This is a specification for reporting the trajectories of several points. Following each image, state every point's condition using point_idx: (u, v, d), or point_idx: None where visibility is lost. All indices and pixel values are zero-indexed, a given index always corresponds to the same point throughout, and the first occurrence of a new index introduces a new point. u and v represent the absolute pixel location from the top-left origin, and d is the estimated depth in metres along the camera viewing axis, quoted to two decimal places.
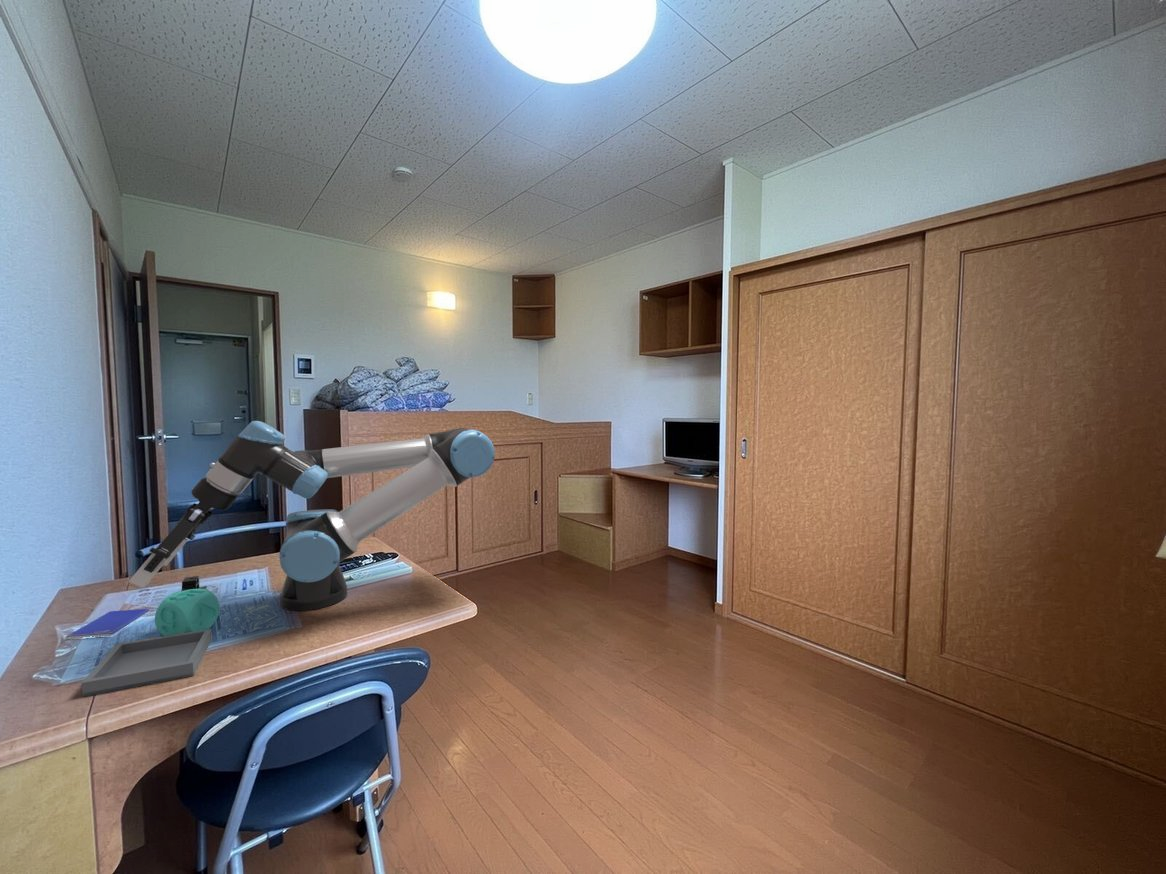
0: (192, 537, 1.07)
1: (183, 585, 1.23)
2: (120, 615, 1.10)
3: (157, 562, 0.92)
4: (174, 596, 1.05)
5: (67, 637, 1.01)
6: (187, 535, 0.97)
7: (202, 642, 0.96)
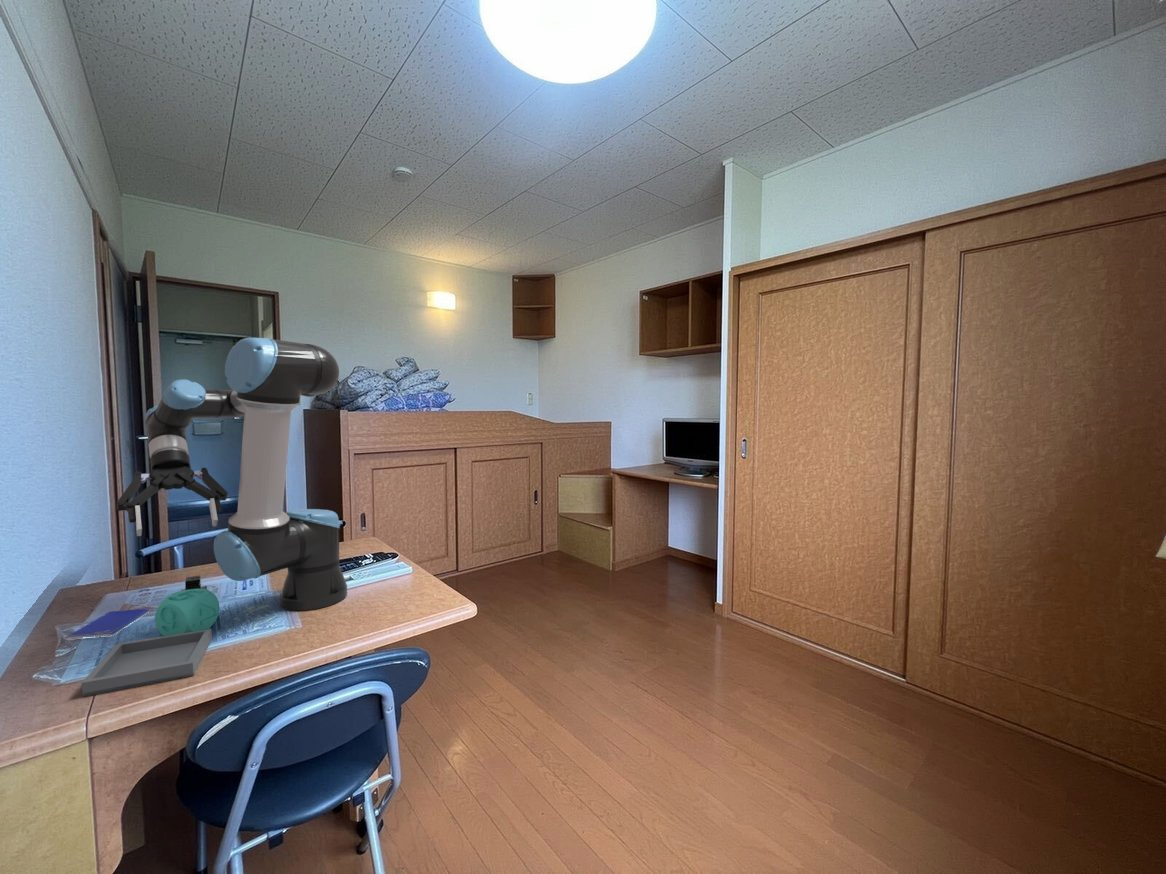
0: (216, 495, 1.20)
1: (187, 584, 1.24)
2: (120, 615, 1.10)
3: (128, 512, 1.08)
4: (174, 596, 1.05)
5: (67, 637, 1.01)
6: (152, 489, 1.13)
7: (202, 642, 0.96)
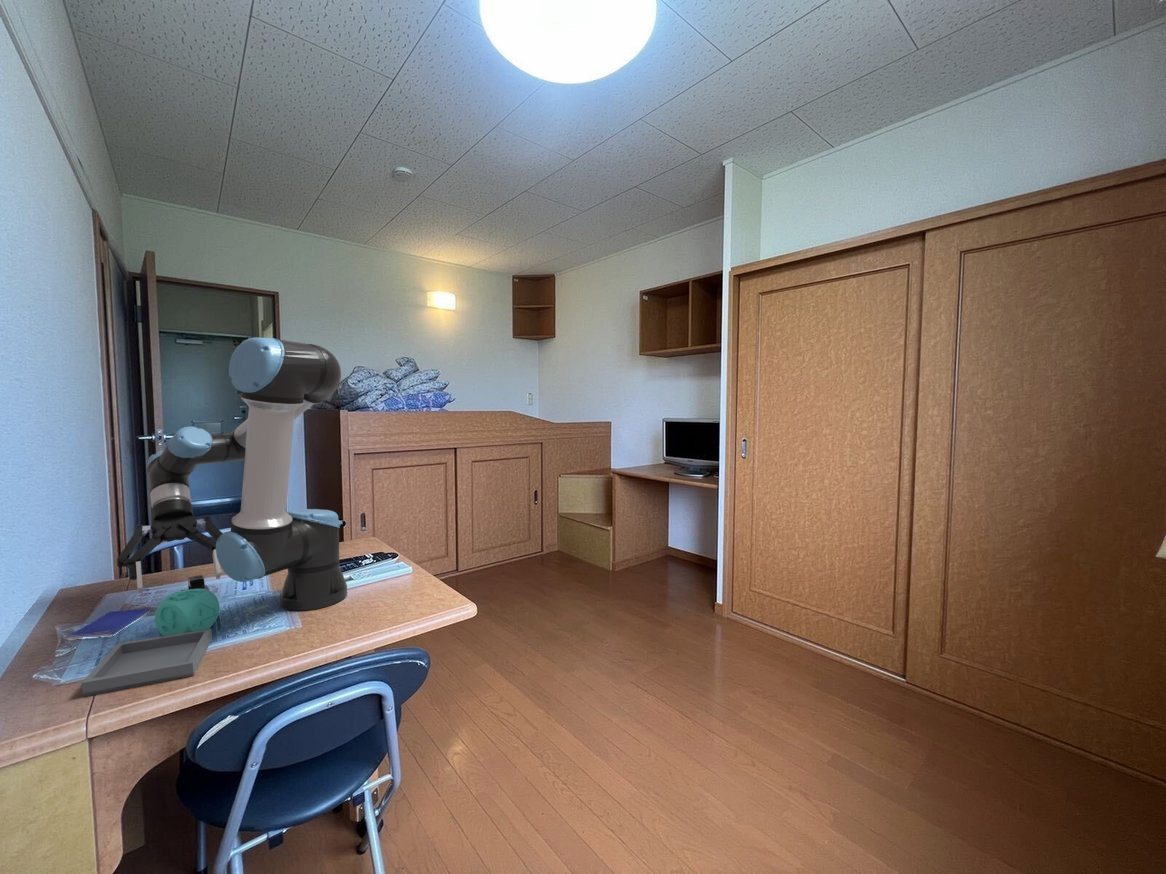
0: None
1: (192, 584, 1.24)
2: (120, 615, 1.10)
3: None
4: (174, 596, 1.05)
5: (67, 637, 1.00)
6: (153, 543, 1.09)
7: (202, 642, 0.96)
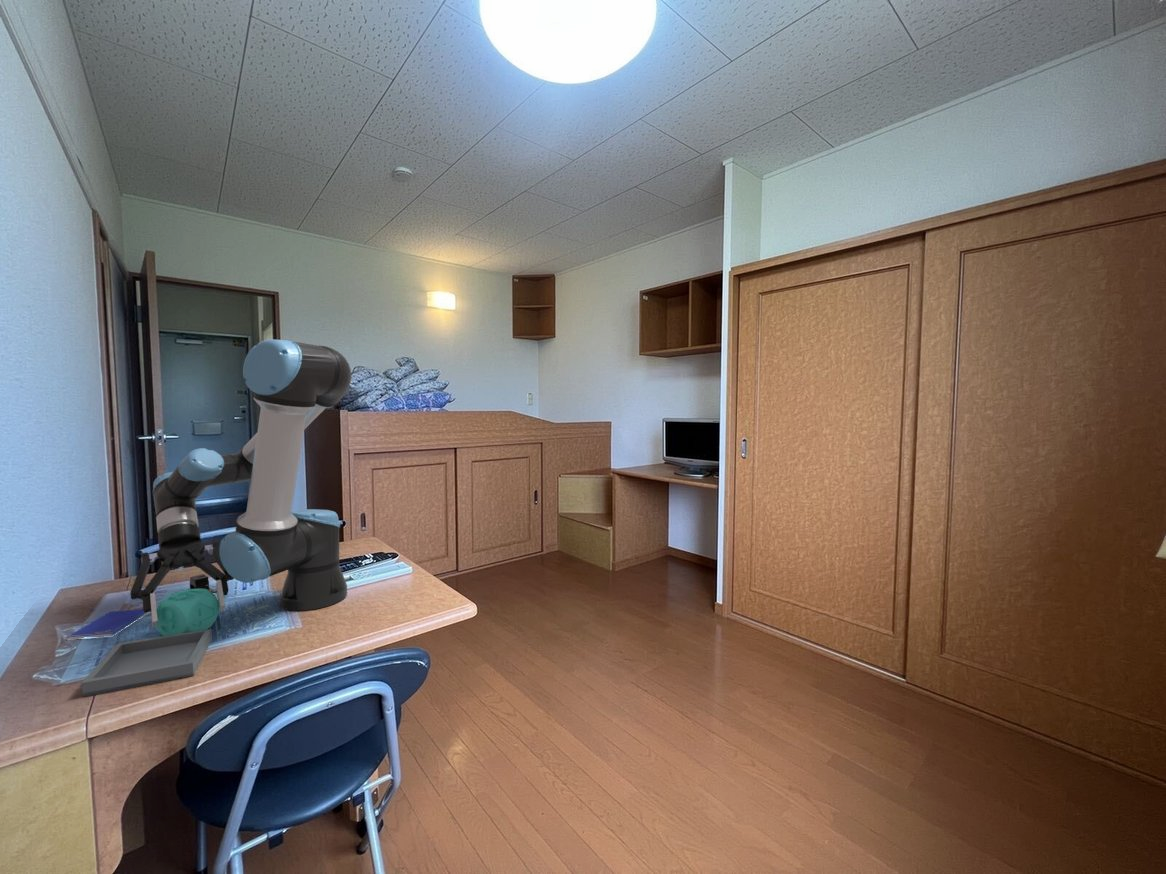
0: (223, 576, 1.11)
1: (196, 583, 1.25)
2: (120, 615, 1.10)
3: None
4: (173, 596, 1.04)
5: (67, 638, 1.00)
6: (164, 571, 1.06)
7: (202, 642, 0.96)
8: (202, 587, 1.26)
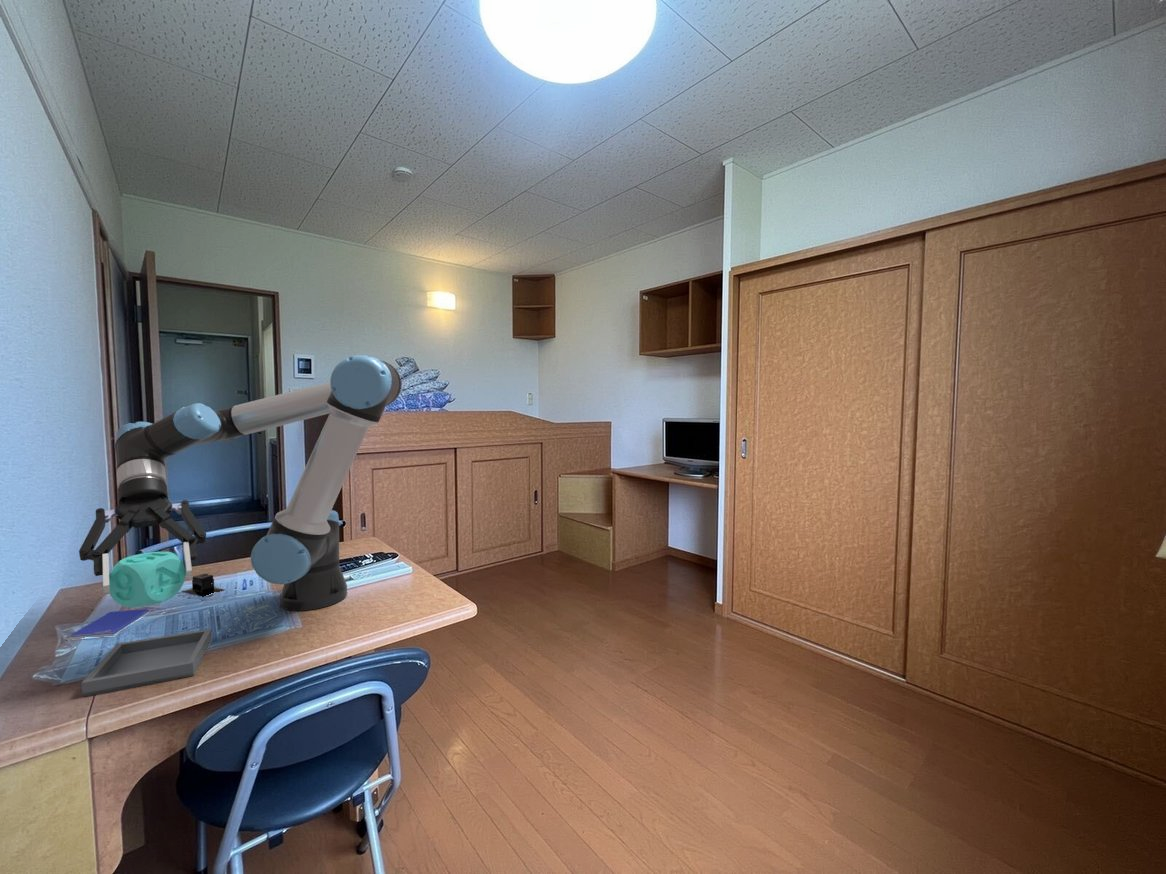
0: None
1: (203, 581, 1.26)
2: (120, 615, 1.10)
3: None
4: (131, 558, 0.90)
5: (68, 638, 1.00)
6: (121, 530, 0.91)
7: (202, 642, 0.96)
8: (208, 585, 1.27)
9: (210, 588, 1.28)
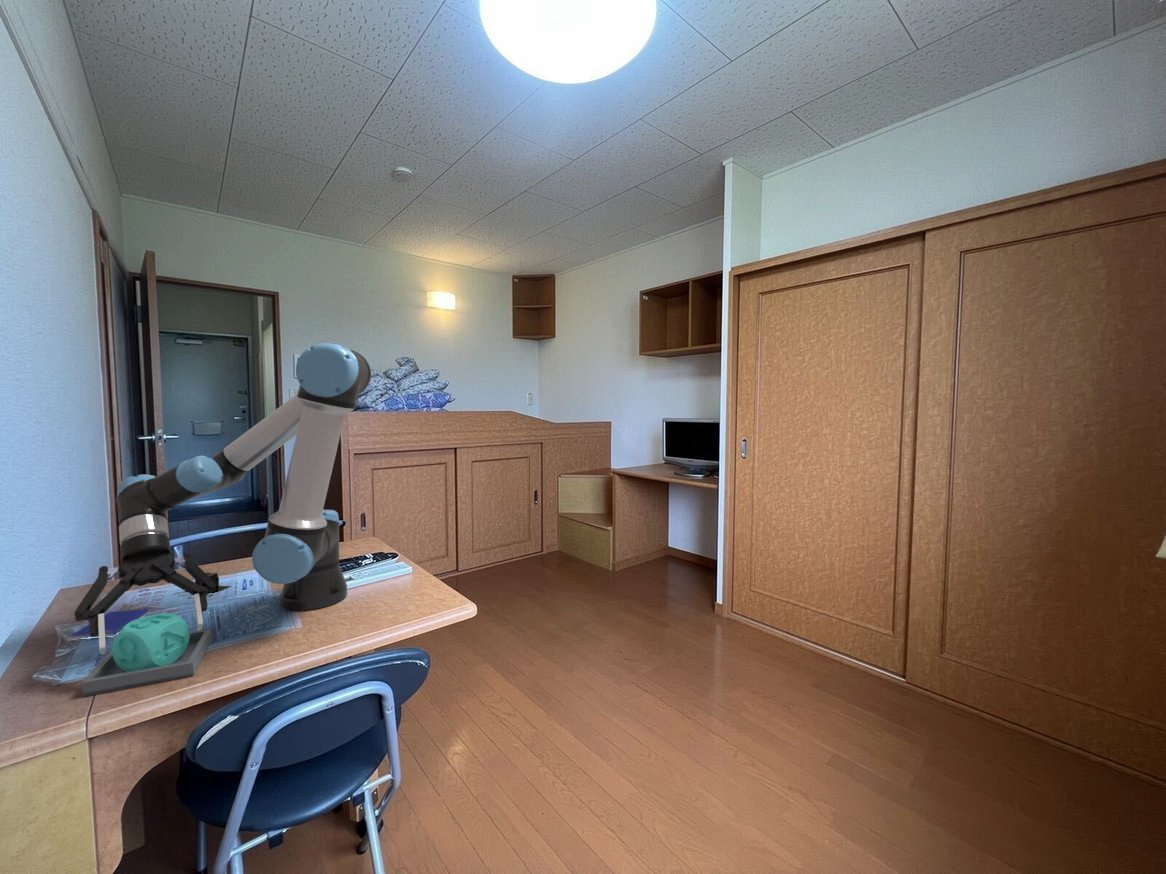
0: (202, 589, 0.97)
1: None
2: (120, 616, 1.10)
3: (89, 623, 0.86)
4: (136, 623, 0.90)
5: (68, 638, 1.00)
6: (120, 589, 0.91)
7: (202, 642, 0.96)
8: None
9: (216, 586, 1.29)
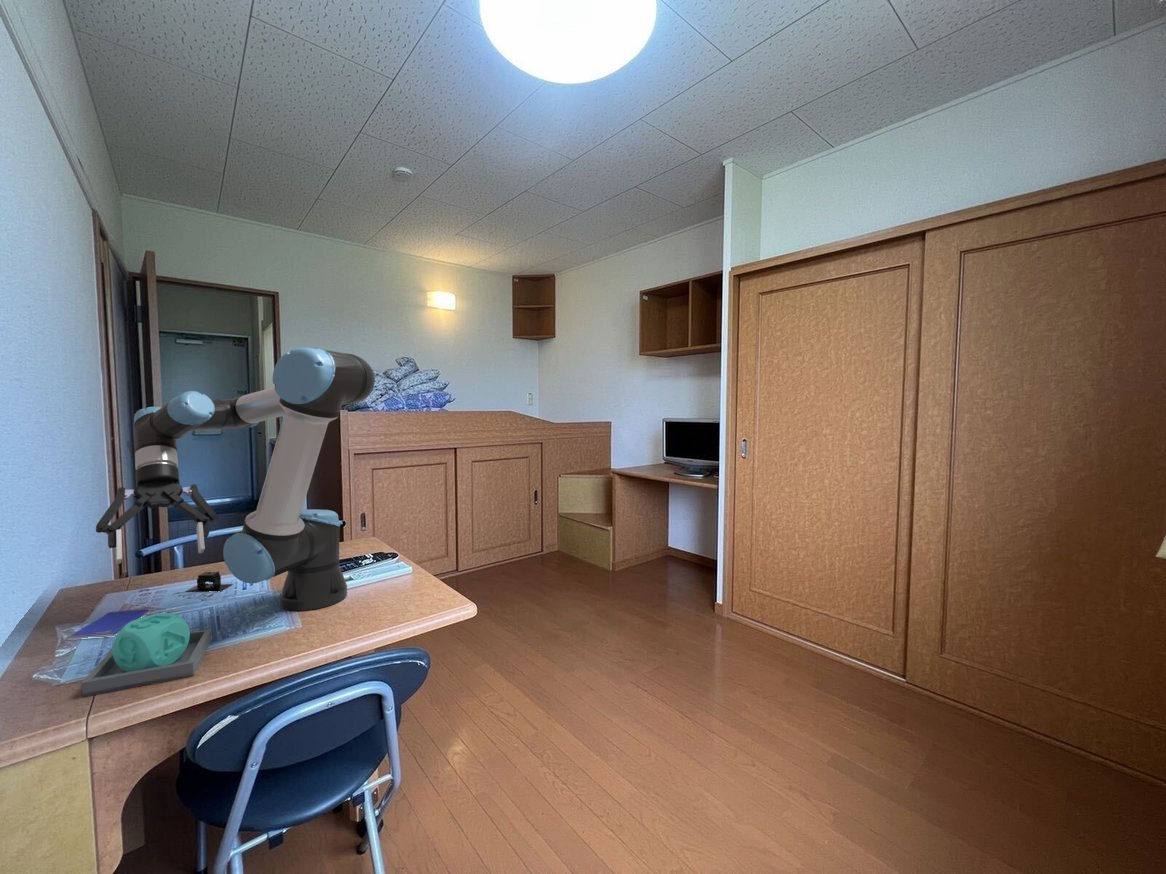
0: (205, 518, 1.12)
1: (214, 578, 1.29)
2: (120, 616, 1.10)
3: (108, 536, 1.00)
4: (136, 623, 0.90)
5: (68, 638, 1.00)
6: (135, 510, 1.05)
7: (202, 642, 0.96)
8: (217, 581, 1.30)
9: (218, 584, 1.30)
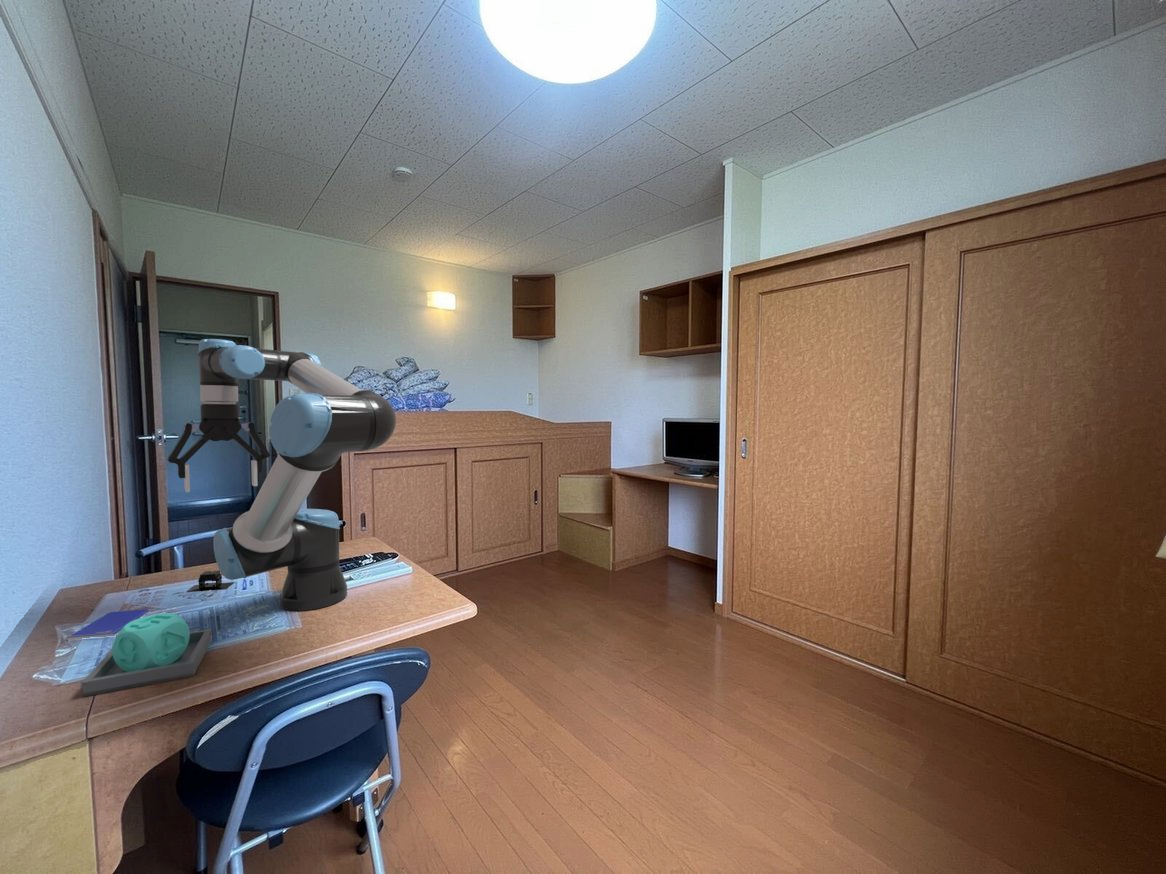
0: (259, 458, 1.24)
1: (216, 576, 1.30)
2: (120, 616, 1.10)
3: (178, 469, 1.14)
4: (136, 623, 0.90)
5: (68, 638, 1.00)
6: (201, 446, 1.16)
7: (202, 642, 0.96)
8: (219, 580, 1.31)
9: (220, 583, 1.31)
